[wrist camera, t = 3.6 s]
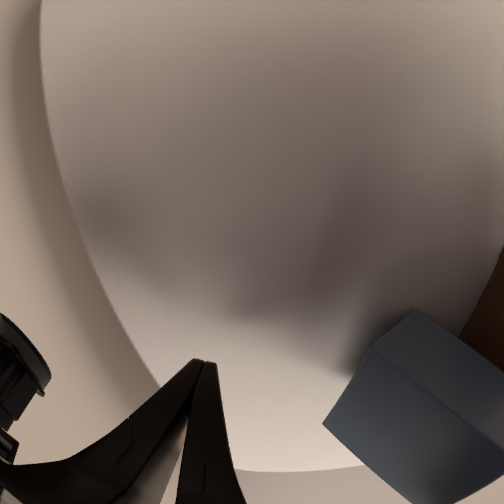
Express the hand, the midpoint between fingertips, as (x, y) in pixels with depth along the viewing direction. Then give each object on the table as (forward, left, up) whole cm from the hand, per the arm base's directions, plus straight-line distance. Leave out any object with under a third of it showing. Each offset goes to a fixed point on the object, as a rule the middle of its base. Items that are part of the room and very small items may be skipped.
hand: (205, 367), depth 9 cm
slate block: (+8, 0, +2) cm, 9 cm away
